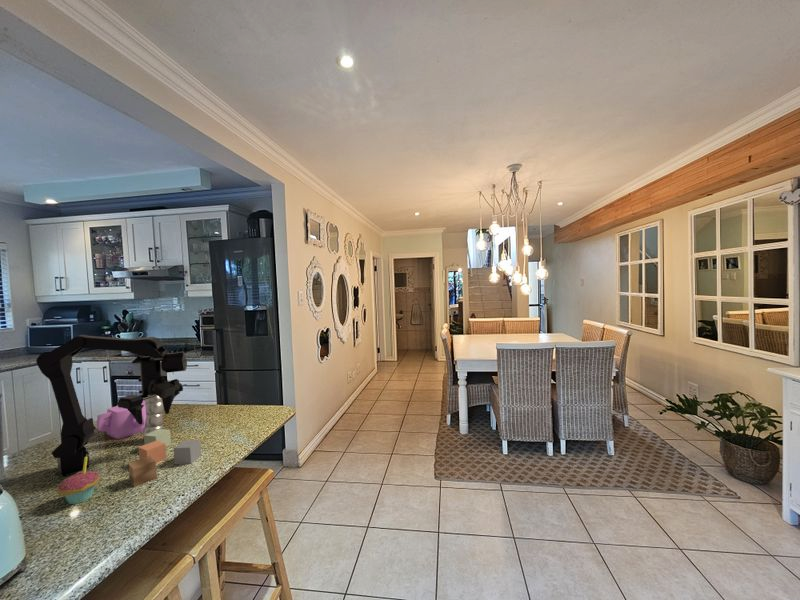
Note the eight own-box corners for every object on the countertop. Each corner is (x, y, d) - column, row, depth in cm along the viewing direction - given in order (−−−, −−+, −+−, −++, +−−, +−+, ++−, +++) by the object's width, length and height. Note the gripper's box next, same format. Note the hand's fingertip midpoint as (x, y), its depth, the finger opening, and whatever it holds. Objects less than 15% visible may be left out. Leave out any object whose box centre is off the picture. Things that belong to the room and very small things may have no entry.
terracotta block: (147, 467, 110) (146, 450, 109) (139, 463, 112) (138, 447, 112) (166, 459, 114) (165, 443, 114) (158, 455, 117) (157, 440, 117)
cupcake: (97, 486, 100) (94, 446, 99) (104, 496, 94) (100, 454, 94) (56, 501, 93) (52, 458, 92) (60, 513, 88) (56, 468, 87)
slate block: (191, 463, 111) (190, 447, 111) (174, 464, 111) (173, 448, 111) (201, 455, 116) (200, 439, 116) (185, 456, 116) (184, 440, 116)
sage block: (156, 451, 120) (155, 436, 120) (144, 450, 122) (143, 435, 121) (170, 444, 126) (169, 429, 125) (159, 443, 127) (158, 428, 127)
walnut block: (134, 487, 99) (133, 469, 98) (129, 481, 102) (128, 463, 102) (156, 478, 103) (155, 461, 102) (151, 472, 106) (150, 455, 106)
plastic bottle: (146, 442, 125) (148, 387, 127) (140, 440, 129) (142, 386, 131) (166, 438, 130) (168, 384, 132) (159, 435, 134) (162, 384, 136)
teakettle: (94, 442, 129) (91, 410, 129) (118, 425, 146) (116, 397, 145) (145, 436, 134) (143, 405, 133) (163, 419, 150) (162, 392, 150)
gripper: (140, 383, 105) (143, 432, 106) (193, 368, 123) (195, 410, 123) (115, 381, 108) (118, 429, 109) (170, 367, 126) (172, 408, 127)
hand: (154, 418), depth 117 cm, fingers open, 9 cm apart
